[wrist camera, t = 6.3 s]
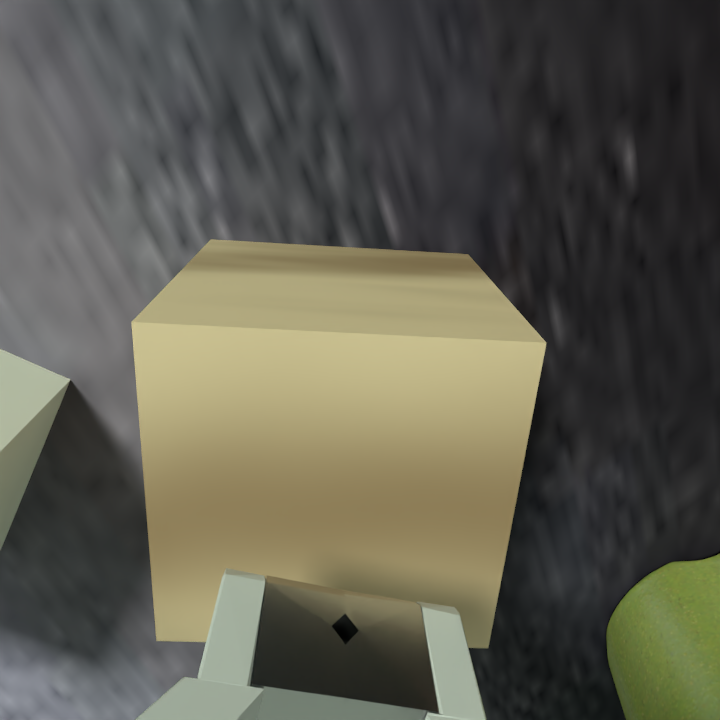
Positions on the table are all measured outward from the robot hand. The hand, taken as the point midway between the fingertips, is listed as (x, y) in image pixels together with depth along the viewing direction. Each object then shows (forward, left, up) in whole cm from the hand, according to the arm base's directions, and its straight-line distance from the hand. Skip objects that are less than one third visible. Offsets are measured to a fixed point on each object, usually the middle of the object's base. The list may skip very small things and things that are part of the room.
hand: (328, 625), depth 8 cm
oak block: (0, 0, -8) cm, 8 cm away
